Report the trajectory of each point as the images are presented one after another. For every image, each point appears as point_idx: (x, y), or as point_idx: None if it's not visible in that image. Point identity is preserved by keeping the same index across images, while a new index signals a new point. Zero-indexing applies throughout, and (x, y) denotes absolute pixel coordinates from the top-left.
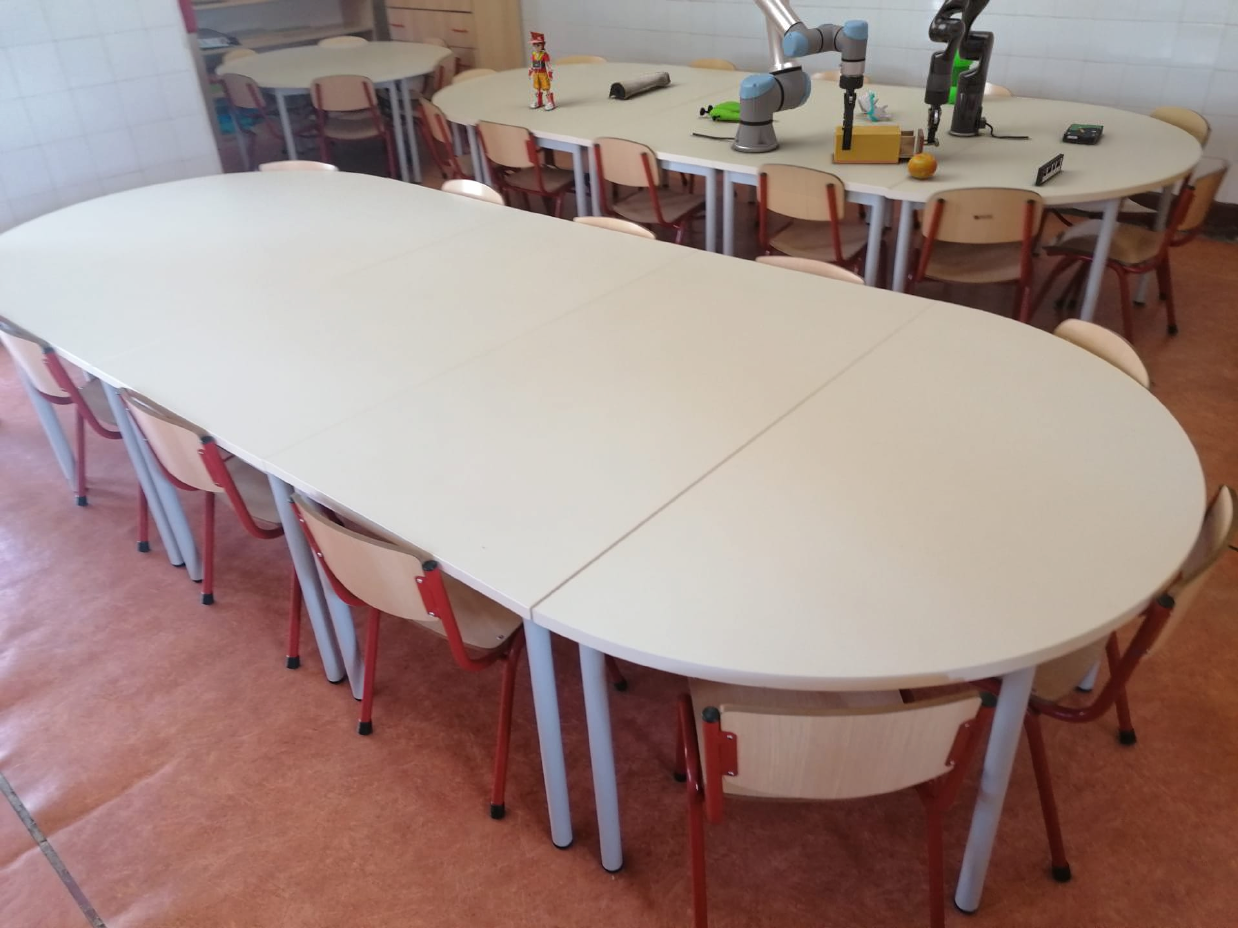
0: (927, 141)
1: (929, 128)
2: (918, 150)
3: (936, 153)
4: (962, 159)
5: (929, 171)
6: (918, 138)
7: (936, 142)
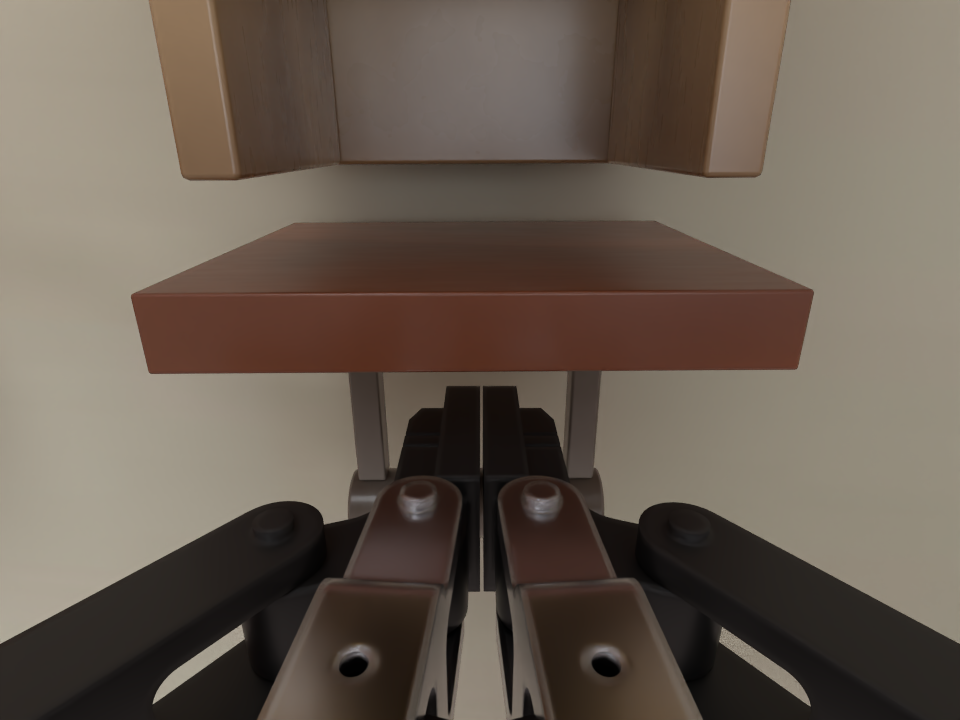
0: (446, 396)
1: (281, 547)
2: (303, 238)
3: (681, 437)
4: (475, 615)
5: None
6: (509, 262)
7: (349, 513)
